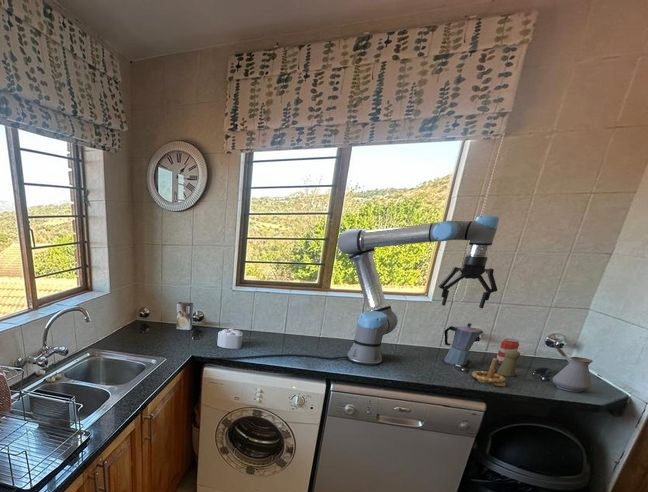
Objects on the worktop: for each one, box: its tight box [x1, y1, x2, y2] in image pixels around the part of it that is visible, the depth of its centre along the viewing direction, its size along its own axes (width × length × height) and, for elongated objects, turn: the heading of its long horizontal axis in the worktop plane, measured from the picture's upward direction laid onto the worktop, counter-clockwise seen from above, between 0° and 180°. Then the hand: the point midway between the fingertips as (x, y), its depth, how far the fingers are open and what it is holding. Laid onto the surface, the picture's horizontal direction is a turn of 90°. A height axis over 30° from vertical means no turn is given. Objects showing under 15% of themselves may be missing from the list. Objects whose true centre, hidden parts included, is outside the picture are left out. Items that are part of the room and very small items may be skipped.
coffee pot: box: [549, 343, 593, 393], centre depth 168 cm, size 21×12×15 cm, turn 171°
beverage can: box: [495, 337, 520, 365], centre depth 192 cm, size 6×6×12 cm
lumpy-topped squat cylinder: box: [216, 328, 244, 350], centre depth 217 cm, size 10×13×9 cm
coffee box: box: [176, 301, 194, 331], centre depth 249 cm, size 9×6×16 cm
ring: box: [470, 370, 506, 384], centre depth 173 cm, size 11×11×2 cm
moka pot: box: [443, 323, 484, 366], centre depth 190 cm, size 10×15×20 cm, turn 78°
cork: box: [496, 350, 521, 377], centre depth 179 cm, size 6×6×11 cm
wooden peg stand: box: [477, 357, 507, 387], centre depth 171 cm, size 9×9×10 cm
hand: (461, 306), depth 175 cm, fingers open, 13 cm apart
